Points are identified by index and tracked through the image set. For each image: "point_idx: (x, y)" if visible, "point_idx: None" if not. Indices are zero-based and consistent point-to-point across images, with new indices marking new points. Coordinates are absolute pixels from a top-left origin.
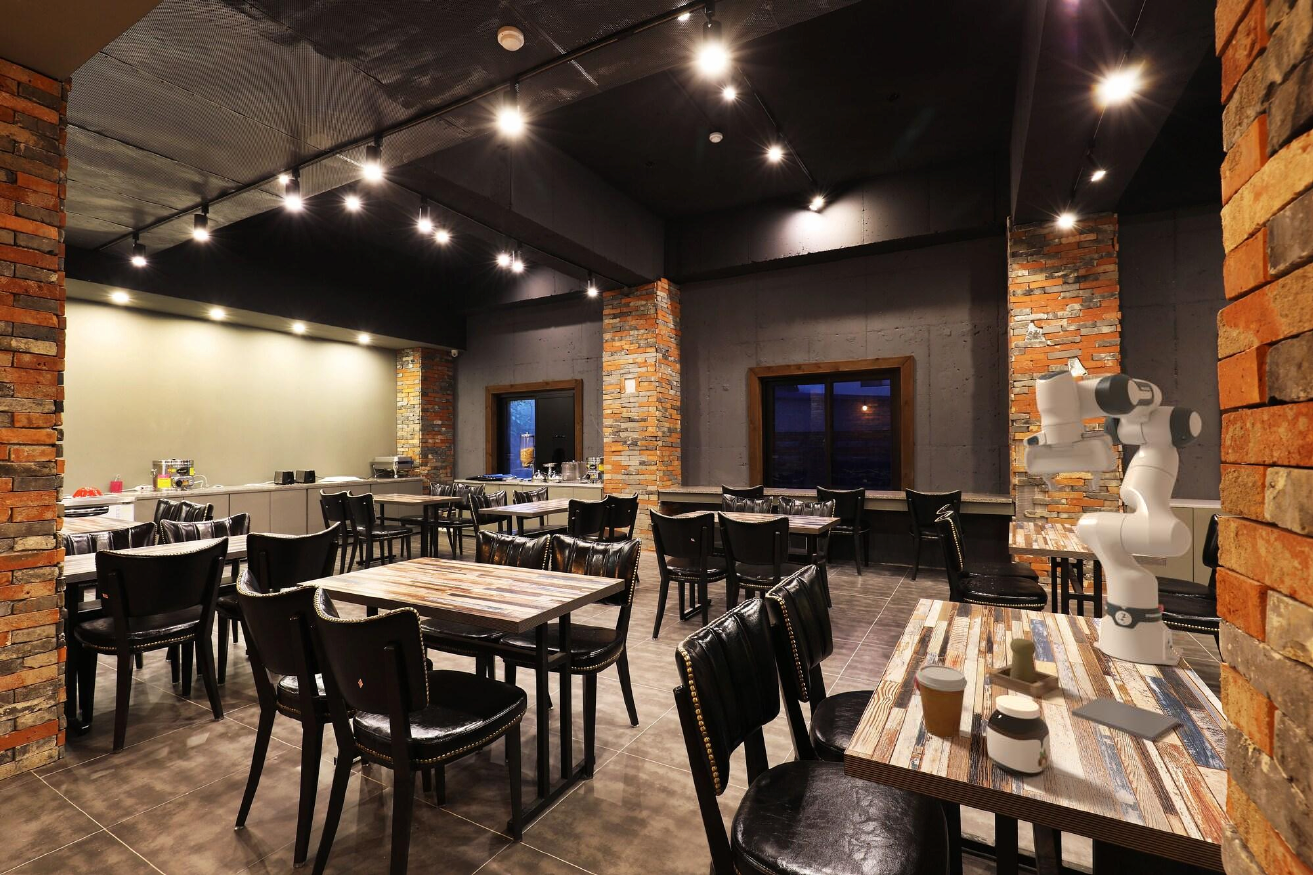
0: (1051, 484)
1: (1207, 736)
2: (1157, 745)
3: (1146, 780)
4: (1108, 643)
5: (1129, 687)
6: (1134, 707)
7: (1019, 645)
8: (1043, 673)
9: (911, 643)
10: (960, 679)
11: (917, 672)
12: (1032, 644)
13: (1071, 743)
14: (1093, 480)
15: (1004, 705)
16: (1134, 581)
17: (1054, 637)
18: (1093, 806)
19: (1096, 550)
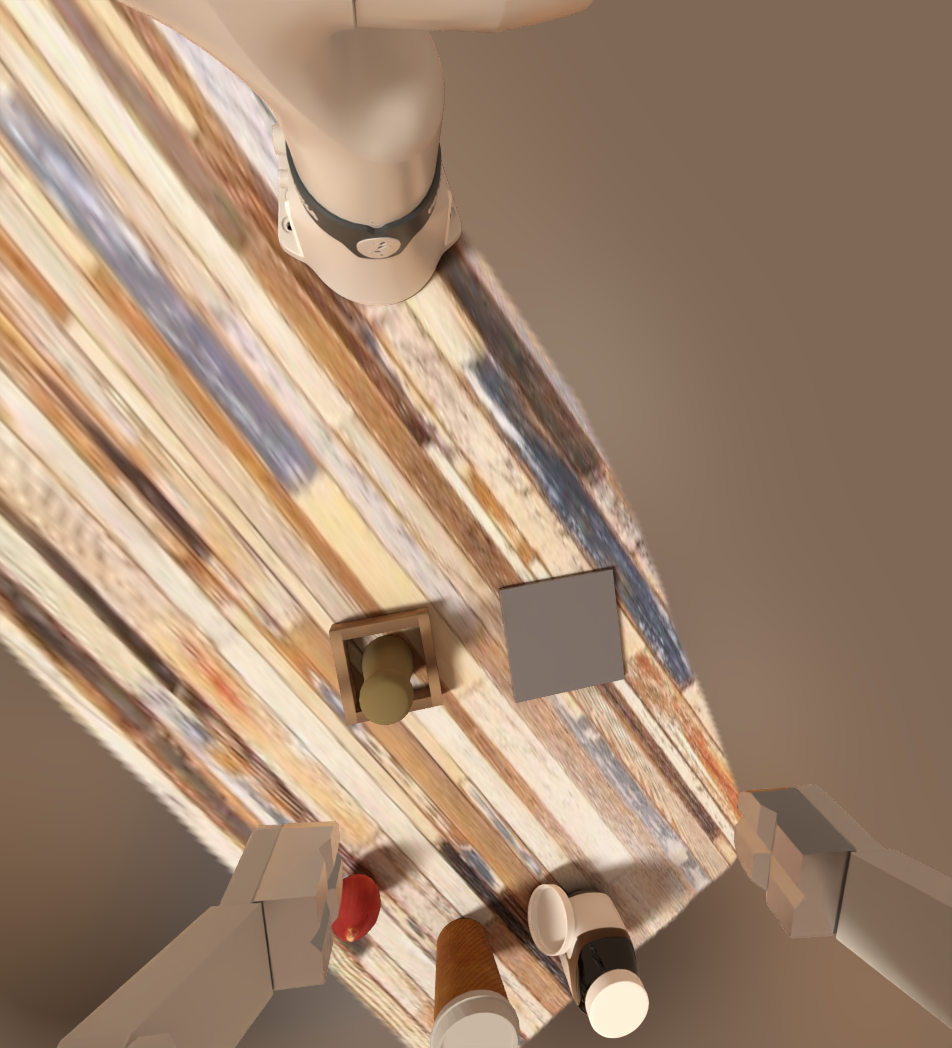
0: (281, 984)
1: (650, 579)
2: (631, 681)
3: (670, 792)
4: (340, 278)
5: (487, 475)
6: (555, 588)
7: (395, 722)
8: (401, 623)
9: (55, 683)
10: (517, 1038)
11: (337, 936)
12: (409, 696)
13: (572, 791)
14: (897, 971)
15: (616, 1035)
16: (408, 158)
17: (179, 262)
18: (671, 903)
19: (224, 62)
